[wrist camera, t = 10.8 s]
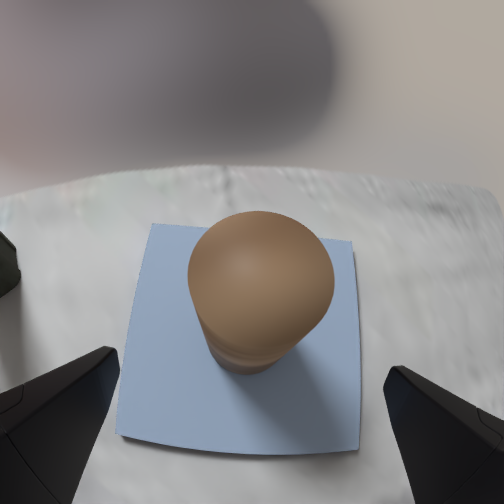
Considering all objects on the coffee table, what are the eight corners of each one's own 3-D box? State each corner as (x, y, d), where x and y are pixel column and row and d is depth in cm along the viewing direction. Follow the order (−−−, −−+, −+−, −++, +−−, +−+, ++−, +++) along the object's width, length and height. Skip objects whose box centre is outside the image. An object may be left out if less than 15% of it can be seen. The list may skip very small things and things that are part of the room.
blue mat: (353, 448, 16) (358, 449, 16) (119, 432, 16) (115, 433, 15) (348, 246, 24) (351, 241, 23) (154, 228, 23) (152, 223, 23)
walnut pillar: (299, 353, 19) (360, 304, 10) (227, 387, 17) (226, 373, 9) (263, 287, 21) (289, 195, 12) (194, 317, 19) (167, 239, 11)
